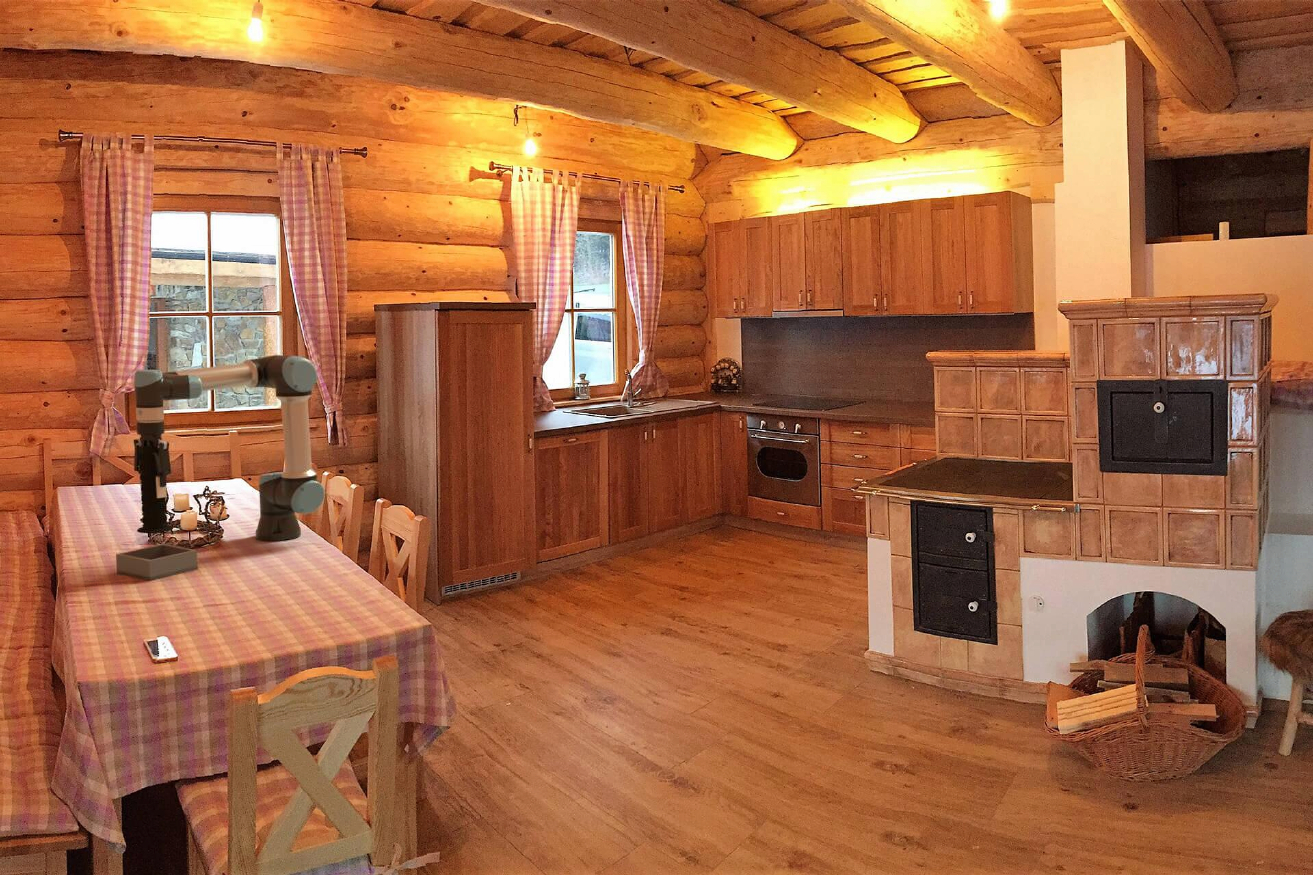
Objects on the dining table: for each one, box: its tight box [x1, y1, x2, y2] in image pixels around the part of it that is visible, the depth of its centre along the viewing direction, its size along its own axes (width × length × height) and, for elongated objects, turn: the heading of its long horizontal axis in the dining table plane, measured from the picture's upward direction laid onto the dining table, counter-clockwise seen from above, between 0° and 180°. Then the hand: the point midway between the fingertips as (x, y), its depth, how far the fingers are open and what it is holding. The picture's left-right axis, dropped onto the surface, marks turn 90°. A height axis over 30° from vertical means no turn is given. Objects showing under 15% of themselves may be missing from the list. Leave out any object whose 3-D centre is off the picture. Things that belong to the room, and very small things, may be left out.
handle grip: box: [136, 446, 174, 534], centre depth 307 cm, size 10×26×10 cm
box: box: [115, 543, 199, 582], centre depth 310 cm, size 16×16×6 cm
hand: (153, 495), depth 307 cm, fingers closed on handle grip, 7 cm apart
